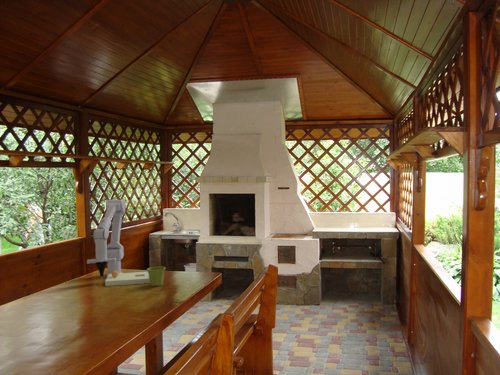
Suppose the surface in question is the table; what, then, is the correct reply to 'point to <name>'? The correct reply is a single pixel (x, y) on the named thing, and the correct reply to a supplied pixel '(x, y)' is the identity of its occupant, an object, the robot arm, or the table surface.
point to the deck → (128, 279)
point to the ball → (114, 273)
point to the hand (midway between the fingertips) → (101, 276)
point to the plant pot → (156, 275)
